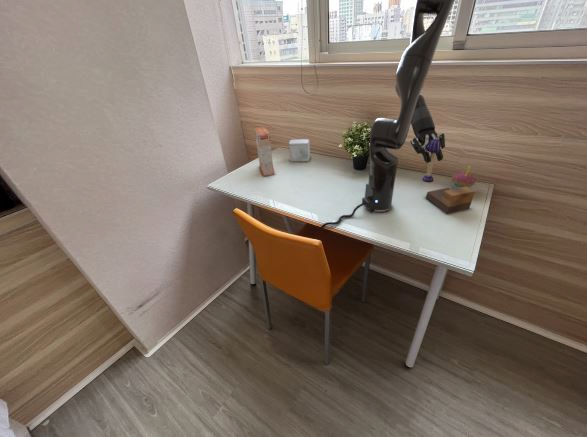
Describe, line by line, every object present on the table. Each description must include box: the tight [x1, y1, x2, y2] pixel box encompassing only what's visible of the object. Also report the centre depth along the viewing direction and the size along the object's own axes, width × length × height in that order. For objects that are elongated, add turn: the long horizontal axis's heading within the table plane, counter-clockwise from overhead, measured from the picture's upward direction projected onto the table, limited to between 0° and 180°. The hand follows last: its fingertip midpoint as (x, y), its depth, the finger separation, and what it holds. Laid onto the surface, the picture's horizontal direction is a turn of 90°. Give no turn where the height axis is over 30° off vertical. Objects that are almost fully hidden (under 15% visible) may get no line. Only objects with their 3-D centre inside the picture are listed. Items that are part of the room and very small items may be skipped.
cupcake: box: [451, 164, 477, 189], centre depth 108 cm, size 9×8×12 cm
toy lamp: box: [421, 138, 442, 183], centre depth 106 cm, size 5×5×17 cm
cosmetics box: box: [288, 138, 311, 162], centre depth 148 cm, size 10×6×10 cm, turn 80°
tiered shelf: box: [425, 186, 476, 215], centre depth 102 cm, size 10×12×8 cm
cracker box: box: [253, 126, 275, 177], centre depth 137 cm, size 14×6×21 cm, turn 13°
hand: (434, 160), depth 104 cm, fingers closed on toy lamp, 4 cm apart
